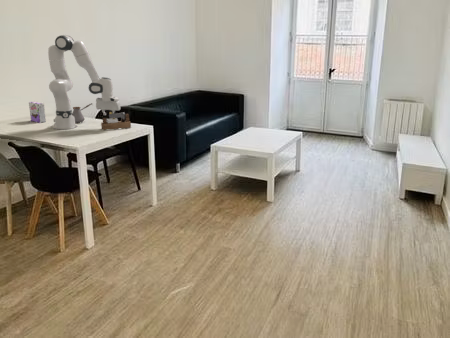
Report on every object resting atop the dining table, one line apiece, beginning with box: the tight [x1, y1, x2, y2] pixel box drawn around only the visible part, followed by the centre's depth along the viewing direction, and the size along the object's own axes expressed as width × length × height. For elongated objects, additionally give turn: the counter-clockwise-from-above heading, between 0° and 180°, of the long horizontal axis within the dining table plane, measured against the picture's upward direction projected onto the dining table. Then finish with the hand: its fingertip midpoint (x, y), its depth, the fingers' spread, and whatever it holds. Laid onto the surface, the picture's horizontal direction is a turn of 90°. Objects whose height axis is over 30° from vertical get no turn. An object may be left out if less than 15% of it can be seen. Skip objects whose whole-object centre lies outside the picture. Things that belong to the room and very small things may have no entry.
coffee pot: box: [72, 103, 93, 124], centre depth 352 cm, size 21×12×15 cm, turn 138°
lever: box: [108, 111, 126, 122], centre depth 329 cm, size 3×12×8 cm, turn 124°
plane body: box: [100, 113, 132, 131], centre depth 330 cm, size 7×22×11 cm, turn 120°
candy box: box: [28, 100, 47, 124], centre depth 348 cm, size 14×6×16 cm, turn 55°
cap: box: [106, 118, 119, 123], centre depth 328 cm, size 4×8×4 cm, turn 121°
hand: (108, 115), depth 329 cm, fingers open, 5 cm apart
